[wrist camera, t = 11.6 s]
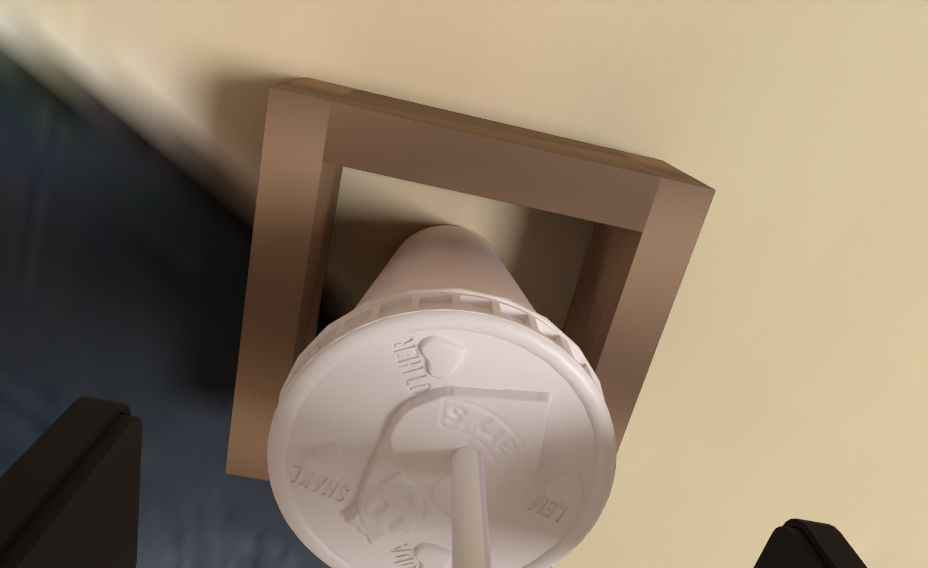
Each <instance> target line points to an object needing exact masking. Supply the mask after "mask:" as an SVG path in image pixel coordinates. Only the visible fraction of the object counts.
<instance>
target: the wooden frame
mask: <svg viewBox="0 0 928 568" xmlns="http://www.w3.org/2000/svg"><path fill="white" fill-rule="evenodd" d="M343 166H344V167H349V168H353V169H358V170H362V171H367V172H371V173H376V174H380V175H385V176H390V177H394V178H399V179H403V180H408V181H412V182H417V183H421V184H426V185H430V186H435V187H440V188H444V189H449V190H453V191H458V192H462V193H467V194H471V195H476V196H480V197H485V198H489V199H494V200H499V201H503V202H508V203H512V204H517V205H521V206H526V207H530V208H535V209H539V210H544V211H549V212H553V213H558V214H562V215H567V216H571V217H576V218H580V219H585V220H589V221H594V222H597V223H596V226H595V230H594V233H593V236H592V239H591V242H590V246H589V249H588V252H587V255H586V258H585V262H584V265H583V268H582V271H581V274H580V277H579V281H578V284H577V287H576V290H575V293H574V297H573V300H572V303H571V306H570V309H569V313H568V316H567V319H566V322H565V325H564V328H563V333H564V334H565V335H566V336H567V337H569V338H570V339H571V340H572V341H573V342H574V343H575V344H576V345H577V346H579V348H580V350H581V351H582V353H583V354H584V356H585V358H586V359H587V361H588V363H589V364H590V366H591V368H592V369H593V371H594V372H595V374H596V376H597V377H598V379H599V381H600V384H601V388H602V392H603V396H604V400H605V404H606V406H607V408H608V410H609V414H610V417H611V420H612V423H613V428H614V433H615V438H616V454H617V452H618V449H619V446H620V444H621V441H622V438H623V436H624V433H625V430H626V428H627V425H628V422H629V420H630V417H631V414H632V412H633V409H634V406H635V404H636V401H637V398H638V396H639V393H640V390H641V388H642V385H643V382H644V380H645V377H646V374H647V372H648V369H649V366H650V364H651V361H652V358H653V356H654V353H655V350H656V348H657V345H658V342H659V340H660V337H661V335H662V332H663V329H664V327H665V324H666V321H667V319H668V316H669V313H670V311H671V308H672V305H673V303H674V300H675V297H676V295H677V292H678V289H679V287H680V284H681V281H682V279H683V276H684V273H685V271H686V268H687V265H688V263H689V260H690V257H691V255H692V252H693V249H694V247H695V244H696V241H697V239H698V236H699V233H700V231H701V228H702V226H703V223H704V220H705V218H706V215H707V212H708V210H709V207H710V204H711V202H712V199H713V196H714V194H715V191H716V190H714V189H713V188H711V187H709V186H707V185H706V184H704V183H702V182H700V181H698V180H697V179H695V178H693V177H691V176H689V175H688V174H686V173H684V172H682V171H680V170H679V169H677V168H675V167H673V166H671V165H670V164H668V163H666V162H664V161H661V160H657V159H653V158H649V157H644V156H640V155H636V154H631V153H627V152H623V151H619V150H614V149H610V148H606V147H601V146H597V145H593V144H589V143H584V142H580V141H576V140H571V139H567V138H563V137H559V136H554V135H550V134H546V133H541V132H537V131H533V130H529V129H524V128H520V127H516V126H511V125H507V124H503V123H499V122H494V121H490V120H486V119H481V118H477V117H473V116H469V115H464V114H460V113H456V112H451V111H447V110H443V109H439V108H434V107H430V106H426V105H421V104H417V103H413V102H409V101H404V100H400V99H396V98H391V97H387V96H383V95H379V94H374V93H370V92H366V91H361V90H357V89H353V88H349V87H344V86H340V85H336V84H331V83H327V82H323V81H319V80H314V79H310V78H303V79H299V80H295V81H292V82H288V83H284V84H280V85H276V86H273V87H269V95H268V103H267V112H266V121H265V130H264V138H263V147H262V156H261V165H260V174H259V182H258V191H257V200H256V209H255V218H254V226H253V235H252V244H251V253H250V261H249V270H248V279H247V288H246V297H245V305H244V314H243V323H242V332H241V341H240V349H239V358H238V367H237V376H236V385H235V393H234V402H233V411H232V420H231V428H230V437H229V446H228V455H227V464H226V472H225V473H226V474H232V475H238V476H244V477H250V478H256V479H262V480H268V481H270V478H269V473H268V462H267V448H268V438H269V432H270V427H271V423H272V420H273V417H274V413H275V411H276V408H277V406H278V403H279V396H280V392H281V390H282V388H283V386H284V384H285V382H286V380H287V378H288V376H289V374H290V372H291V370H292V368H293V366H294V364H295V362H296V360H297V358H298V356H299V355H300V354H301V353H302V352H303V351H304V350H305V349H306V348H307V347H308V345H309V344H310V343H311V342H312V341H313V340H314V339H315V336H316V330H317V323H318V317H319V311H320V305H321V298H322V292H323V286H324V280H325V273H326V267H327V261H328V255H329V249H330V242H331V236H332V230H333V224H334V217H335V211H336V205H337V199H338V192H339V186H340V180H341V174H342V167H343Z"/></svg>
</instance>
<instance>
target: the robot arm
mask: <svg viewBox="0 0 928 568" xmlns="http://www.w3.org/2000/svg"><path fill="white" fill-rule="evenodd" d="M141 440H142V421H141V418H139V417H135V416H131V414H130V408H129V406H128V405H127V404H125V403H119V402H113V401H107V400H101V399H96V398H90V397H80V398H79V399H77V400H76V401H75V402H74V403H73V404H72V405H71V406H70V407H69V408H68V409H67V410H66V411H65V412H64V413H63V414H62V415H61V416H60V417H59V418H58V419H57V420H56V421H55V422H54V423H53V424H52V425H51V426H50V427H49V428H48V429H47V430H46V431H45V432H44V433H43V434H42V435H41V436H40V437H39V438H38V439H37V440H36V441H35V443H34V444H33V445H32V446H31V447H30V448H29V449H28V450H27V451H26V452H25V453H24V454H23V455H22V456H21V457H20V458H19V459H18V460H17V461H16V462H15V463H14V464H13V465H12V466H11V467H10V468H9V469H8V470H7V471H6V472H5V473H4V474H3V475H2V476H1V477H0V568H136V561H137V539H138V514H139V489H140V465H141ZM754 568H867V567H866V565H865V564H864V563H863V561H862V560H861V559H860V558H859V556H858V555H857V554H856V552H855V551H854V550H853V548H852V547H851V546H850V544H849V543H848V542H847V541H846V539H845V538H844V537H843V535H842V534H841V533H840V532H839V531H838V530H837V529H836V528H835V527H834V526H831V525H829V524H825V523H819V522H813V521H807V520H801V519H790V520H788V521H786V522H785V524H784V525H783V526H782V527H778V528H776V529H775V530H774V531H773V533H772V535H771V536H770V538H769V540H768V542H767V544H766V546H765V548H764V549H763V551H762V553H761V555H760V557H759V559H758V561H757V562H756V564H755V566H754Z"/></svg>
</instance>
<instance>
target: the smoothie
mask: <svg viewBox="0 0 928 568" xmlns="http://www.w3.org/2000/svg"><path fill="white" fill-rule="evenodd" d="M267 462H268V473H269V478H270V483H271V487H272V490H273V494H274V497H275V499H276V502H277V504H278V506H279V509H280V511H281V513H282V514H283V516H284V518H285V520H286V521H287V523H288V525H289V526H290V527H291V529H292V530H293V531H294V533H295V534H296V536H297V537H298V538H299V539H300V540H301V541H302V542H303V543H304V545H305V546H306V547H307V548H308V549H309V550H311V551H312V552H313V553H314V554H315V555H316V556H317V557H318V558H320V559H321V560H322V561H324V562H325V563H326V564H327V565H329V566H330V567H332V568H550V567H552V566H553V565H555V564H556V563H558V562H559V561H560V560H562V559H563V558H564V557H565V556H566V555H568V554H569V553H570V552H571V551H572V550H573V549H574V548H575V547H576V546H577V545H578V544H579V543H580V542H581V541H582V540H583V539H584V537H585V536H586V535H587V534H588V533H589V531H590V530H591V528H592V527H593V526H594V524H595V523H596V521H597V520H598V518H599V516H600V514H601V512H602V510H603V509H604V507H605V504H606V502H607V499H608V497H609V494H610V491H611V488H612V484H613V480H614V475H615V469H616V438H615V433H614V428H613V423H612V420H611V417H610V414H609V410H608V408H607V406H606V404H605V400H604V396H603V392H602V388H601V384H600V381H599V379H598V377H597V376H596V374H595V372H594V371H593V369H592V368H591V366H590V364H589V363H588V361H587V359H586V358H585V356H584V354H583V353H582V351H581V350H580V348H579V346H577V345H576V344H575V343H574V342H573V341H572V340H571V339H570V338H569V337H567V336H566V335H565V334H564V333H563V332H562V331H561V330H560V329H559V328H557V327H556V326H555V325H554V324H553V323H552V322H551V321H550V320H549V319H547V318H546V317H544V316H542V315H540V314H538V313H536V311H535V310H534V308H533V307H532V305H531V304H530V302H529V301H528V299H527V298H526V297H525V295H524V294H523V292H522V291H521V289H520V288H519V286H518V285H517V283H516V282H515V280H514V279H513V277H512V276H511V275H510V273H509V272H508V270H507V269H506V267H505V266H504V264H503V263H502V261H501V260H500V258H499V257H498V255H497V254H496V253H495V251H494V250H493V248H492V247H491V246H490V245H489V244H488V242H487V241H485V240H484V239H483V238H482V237H481V236H479V235H478V234H476V233H474V232H472V231H470V230H468V229H465V228H462V227H458V226H452V225H439V226H433V227H429V228H426V229H423V230H421V231H418V232H416V233H415V234H413V235H412V236H410V237H409V238H408V239H406V240H405V241H404V242H403V243H402V244H401V246H400V247H399V248H398V249H397V251H396V252H395V254H394V255H393V256H392V258H391V259H390V260H389V262H388V263H387V265H386V266H385V267H384V269H383V270H382V271H381V273H380V274H379V276H378V277H377V278H376V280H375V281H374V282H373V284H372V285H371V287H370V288H369V289H368V291H367V292H366V293H365V295H364V296H363V298H362V299H361V300H360V302H359V303H358V304H357V306H356V307H355V309H354V310H353V311H351V312H349V313H348V314H346V315H344V316H343V317H341V318H339V319H338V320H336V321H334V322H332V323H331V324H329V325H328V326H327V327H326V328H325V329H324V330H323V331H322V332H321V333H320V334H319V335H318V336H317V337H316V338H315V339H314V340H313V341H312V342H311V343H310V344H309V345H308V347H307V348H306V349H305V350H304V351H303V352H302V353H301V354H300V355H299V356H298V358H297V360H296V362H295V364H294V366H293V368H292V370H291V372H290V374H289V376H288V378H287V380H286V382H285V384H284V386H283V388H282V390H281V392H280V396H279V403H278V406H277V408H276V411H275V413H274V417H273V420H272V423H271V427H270V432H269V438H268V448H267Z"/></svg>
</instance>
